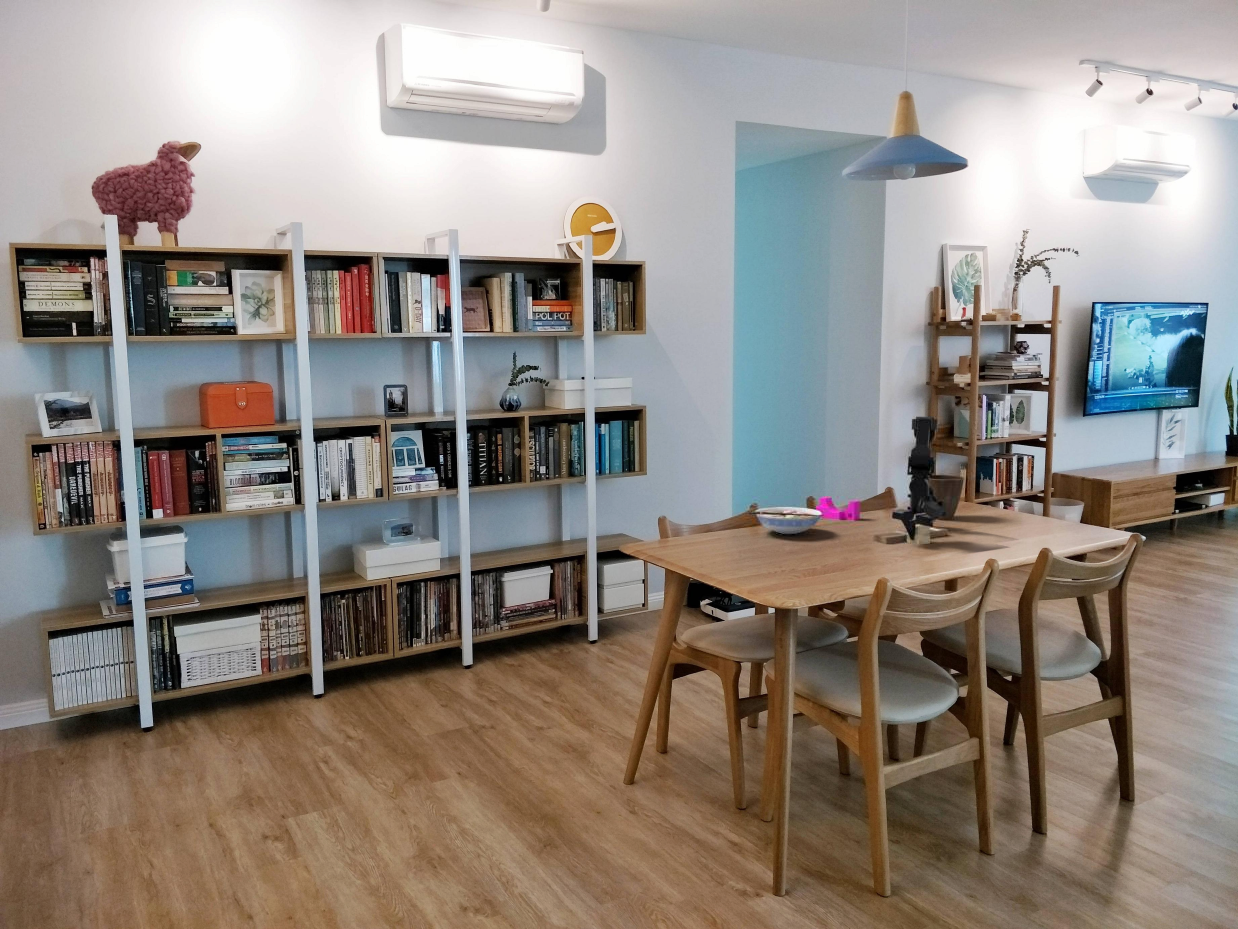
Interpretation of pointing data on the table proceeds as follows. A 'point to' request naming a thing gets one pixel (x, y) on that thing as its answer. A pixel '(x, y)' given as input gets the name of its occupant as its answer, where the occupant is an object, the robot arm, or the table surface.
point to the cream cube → (919, 535)
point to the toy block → (834, 513)
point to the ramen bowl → (788, 519)
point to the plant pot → (947, 492)
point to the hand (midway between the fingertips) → (918, 539)
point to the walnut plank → (899, 535)
